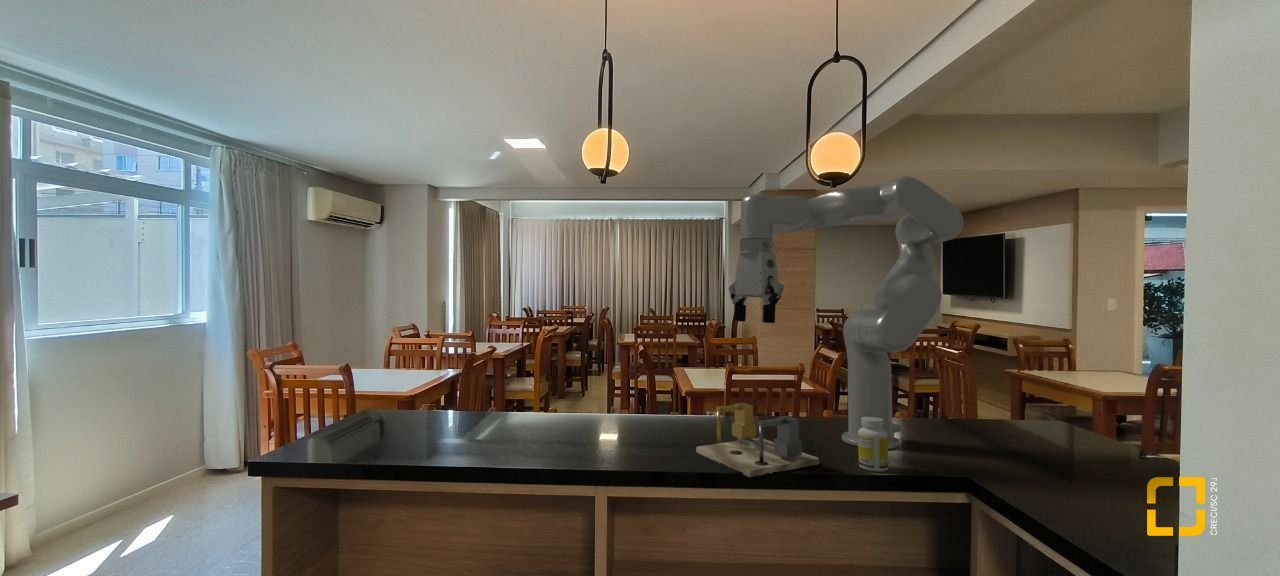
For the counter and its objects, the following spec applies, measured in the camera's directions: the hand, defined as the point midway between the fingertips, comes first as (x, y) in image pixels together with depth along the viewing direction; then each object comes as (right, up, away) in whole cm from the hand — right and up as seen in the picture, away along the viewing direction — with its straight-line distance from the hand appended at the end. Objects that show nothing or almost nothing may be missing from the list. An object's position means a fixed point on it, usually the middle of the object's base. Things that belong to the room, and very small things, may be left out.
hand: (753, 322), depth 113 cm
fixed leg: (+1, -27, -15) cm, 31 cm away
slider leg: (-5, -27, -2) cm, 27 cm away
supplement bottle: (+20, -28, -15) cm, 38 cm away
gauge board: (-2, -28, -9) cm, 30 cm away
